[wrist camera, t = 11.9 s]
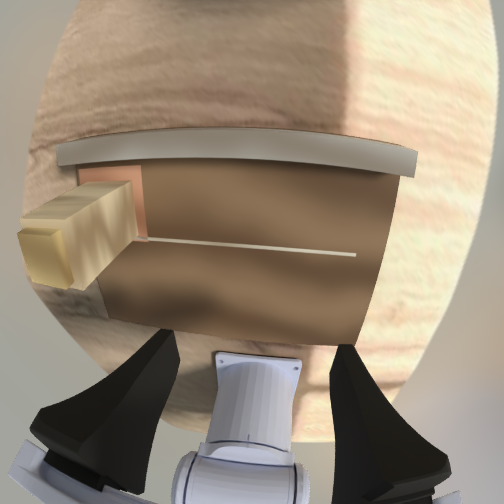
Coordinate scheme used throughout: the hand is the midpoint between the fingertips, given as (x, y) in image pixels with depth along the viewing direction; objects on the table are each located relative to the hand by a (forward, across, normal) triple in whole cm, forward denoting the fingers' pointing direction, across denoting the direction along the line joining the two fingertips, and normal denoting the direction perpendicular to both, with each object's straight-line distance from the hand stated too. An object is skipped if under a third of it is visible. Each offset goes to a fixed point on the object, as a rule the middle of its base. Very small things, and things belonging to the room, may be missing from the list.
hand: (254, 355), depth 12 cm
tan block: (+8, +11, -4) cm, 14 cm away
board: (+9, +3, -1) cm, 10 cm away
